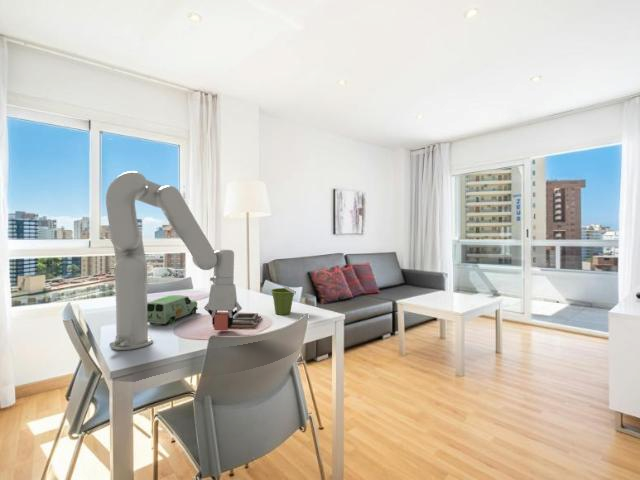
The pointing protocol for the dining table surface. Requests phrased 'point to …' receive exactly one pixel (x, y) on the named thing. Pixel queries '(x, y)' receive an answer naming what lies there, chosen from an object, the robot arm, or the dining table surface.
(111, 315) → the dining table surface
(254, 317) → the board
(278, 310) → the plant pot
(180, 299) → the toy car
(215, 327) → the red block
